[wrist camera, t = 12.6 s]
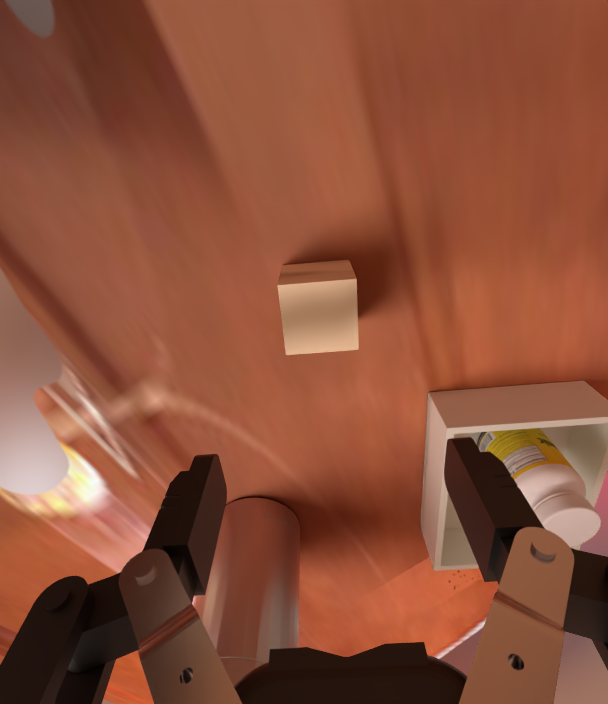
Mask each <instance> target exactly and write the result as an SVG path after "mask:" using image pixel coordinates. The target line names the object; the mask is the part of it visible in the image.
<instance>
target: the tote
mask: <svg viewBox="0 0 608 704" xmlns="http://www.w3.org/2000/svg"><path fill="white" fill-rule="evenodd" d="M532 428H540V429H541V430H542V431H543V433H544V434H545V435H546V436H547V437H548V438H549V440H550V441H551V442H552V443H553V444H554V445H555V446H556V448H557V449H558V450H559V451H560V452H561V454H562V455H563V456H564V457H565V458H566V460H567V461H568V462H569V463H570V464H571V465H572V467H573V468H574V469H575V470H576V471H577V473H578V474H579V475H580V476H581V478H582V479H583V481H584V483H585V487H586V495H585V498H586V500H588V501H589V503H590V504H591V505H592V507H593V508H594V507H595V504H596V501H597V498H598V495H599V492H600V490H601V487H602V484H603V481H604V478H605V475H606V472H607V469H608V400H607V399H606V398H604V397H603V396H602V395H601V394H600V393H598V392H597V391H596V390H595V389H594V388H592V387H591V386H590V385H589V384H587V383H586V382H585V381H584V380H583V381H569V382H556V383H543V384H530V385H517V386H504V387H490V388H477V389H464V390H451V391H438V392H428V408H427V424H426V440H425V456H424V473H423V489H422V505H421V521H420V527H421V530H422V534H423V537H424V540H425V544H426V547H427V550H428V553H429V557H430V560H431V563H432V566H433V570H434V571H436V570H455V569H473V568H479V566H478V564H477V561H476V559H475V557H474V554H473V552H472V549H471V547H470V544H469V542H468V540H467V537H466V535H465V532H464V530H463V528H462V525H461V523H460V520H459V518H458V515H457V513H456V511H455V508H454V506H453V503H452V501H451V498H450V496H449V494H448V491H447V488H446V485H445V480H444V465H445V455H446V445H447V440H448V439H450V438H464V437H471V438H472V439H473V440H474V441H475V440H476V435H477V433H478V432H489V431H504V430H518V429H532ZM580 547H581V544H579V545H577V546H573V547H570V548H573V549H576V550H579V549H580Z"/></svg>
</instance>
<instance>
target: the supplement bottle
mask: <svg viewBox="0 0 608 704" xmlns="http://www.w3.org/2000/svg"><path fill="white" fill-rule="evenodd" d="M475 443H476V445H477V447H478V448H479V450H480V452H488V451H490V452H491V453H492V454H494V455H495V456H496V457H497V458H499V459H500V460H501V461H502V462H503V463H504V465H505V466H506V468H507V469H508V471H509V472H510V474H511V477H513V479H514V480H515V482H516V484H517V487H518V488H520V490H521V492H522V493H523V495H524V496H525V498H526V500H527V501H528V503H529V504H530V506H531V507H532V509H533V511H534V512H535V514H536V515H537V517H538V519H539V520H540V522H541V523H542V525H543V526H544V528H545V529H546V530H549V531H551V532H553V533H554V534H556V535H558V536H559V537H560V538H562V539H563V540H564V541H565V542H566V543H567V544H568V546H569V547H573V546H577V545H579V544H582V543H584V542H586V541H587V540H589V539H591V537H593V536H594V535H595V534H596V533H597V531H598V530H599V528H600V525H601V519H600V516H599V514H598V513H597V512H596V510H595V509H594V508H593V507H592V505H591V504H590V503H589V501H588V500H586V498H585V495H586V487H585V483H584V481H583V479H582V478H581V476H580V475H579V474H578V473H577V471H576V470H575V469H574V468H573V467H572V465H571V464H570V463H569V462H568V461H567V460H566V458H565V457H564V456H563V455H562V454H561V452H560V451H559V450H558V449H557V448H556V446H555V445H554V444H553V443H552V442H551V441H550V440H549V438H548V437H547V436H546V435H545V434H544V433H543V431H542V430H541V429H540V428H532V429H518V430H504V431H489V432H478V433H477V435H476V440H475Z"/></svg>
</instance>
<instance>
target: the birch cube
mask: <svg viewBox="0 0 608 704" xmlns="http://www.w3.org/2000/svg"><path fill="white" fill-rule="evenodd" d="M278 292H279V301H280V309H281V317H282V325H283V334H284V342H285V350H286V355H293V354H307V353H320V352H333V351H347V350H359V348H358V309H357V278H356V276H355V273H354V271H353V268H352V266H351V263H350V261H349V260H338V261H327V262H315V263H303V264H291V265H282V267H281V272H280V277H279V281H278Z"/></svg>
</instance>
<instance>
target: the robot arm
mask: <svg viewBox="0 0 608 704" xmlns="http://www.w3.org/2000/svg"><path fill="white" fill-rule="evenodd" d="M444 480H445V485H446V488H447V491H448V494H449V496H450V498H451V501H452V503H453V506H454V508H455V511H456V513H457V515H458V518H459V520H460V523H461V525H462V528H463V530H464V532H465V535H466V537H467V540H468V542H469V544H470V547H471V549H472V552H473V554H474V557H475V559H476V561H477V564H478V566H479V569H480V571H481V574H482V576H483V578H484V581H485V582H490V581H497V582H498V584H499V587H498V590H497V593H495V595H494V598H493V601H492V604H491V607H490V610H489V613H488V616H487V619H486V622H485V625H484V628H483V631H482V634H481V637H480V641H479V644H478V647H477V650H476V653H475V656H474V659H473V662H472V665H471V668H470V671H469V674H468V677H467V676H466V675H465V674H464V673H462V672H461V671H459V670H458V669H456V668H455V667H454V666H452V665H450V664H448V663H446V662H445V661H442V660H440V659H437V658H435V657H432V656H428V655H427V653H426V649H425V644H424V642H416V643H393V644H384V645H381V646H378V647H375V648H373V649H370V650H367V651H364V652H362V653H359V654H356V655H353V656H350V657H342V656H338V655H334V654H331V653H327V652H323V651H319V650H315V649H311V648H308V647H304V648H298V634H299V569H300V524H299V521H298V519H297V517H296V515H295V514H294V513H293V512H292V511H291V510H290V509H289V508H287V507H286V506H285V505H283V504H281V503H278V502H276V501H273V500H269V499H264V498H245V499H240V500H237V501H234V502H232V503H230V504H228V505H226V500H227V488H226V483H225V479H224V475H223V471H222V467H221V463H220V460H219V456H218V455H217V454H209V455H196V456H195V457H194V459H193V462H192V465H191V467H190V470H189V471H181V472H180V473H179V474H178V475H177V476H176V477H175V478H174V480H173V481H172V482H171V483H170V485H169V488H168V490H167V493H166V495H165V499H164V500H163V502H162V505H161V509H160V510H159V512H158V515H157V517H156V520H155V522H154V525H153V527H152V529H151V532H150V534H149V537H148V539H147V542H146V544H145V547H144V549H143V551H142V552H141V553H139V554H137V555H136V556H134V557H133V558H132V559H130V560H129V562H128V563H127V564H126V565H125V566H124V568H123V570H122V571H121V572H120V573H118V574H116V575H114V576H111V577H108V578H105V579H103V580H100V581H97V582H94V583H92V584H89V585H88V584H87V582H86V581H85V579H83V578H82V577H79V576H69V577H65V578H62V579H60V580H58V581H56V582H55V583H53V584H52V585H50V586H49V587H48V588H47V589H45V590H44V591H43V592H42V593H41V594H40V596H39V597H38V598H37V599H36V601H35V603H34V604H33V606H32V608H31V610H30V612H29V613H28V615H27V617H26V619H25V621H24V623H23V624H22V626H21V628H20V630H19V632H18V634H17V635H16V637H15V639H14V641H13V643H12V645H11V647H10V648H9V650H8V652H7V654H6V656H5V658H4V659H3V661H2V663H1V665H0V704H101V703H102V701H103V698H104V694H105V691H106V688H107V685H108V682H109V679H110V676H111V673H112V670H113V667H114V663H115V660H116V659H117V658H120V657H122V656H124V655H127V654H129V653H132V652H134V651H137V650H138V654H139V657H140V661H141V664H142V667H143V670H144V673H145V676H146V680H147V683H148V686H149V689H150V692H151V695H152V698H153V701H154V704H553V702H554V697H555V691H556V685H557V679H558V672H559V667H560V661H561V655H562V648H563V642H564V636H565V631H566V632H569V633H573V634H577V635H580V636H583V637H587V638H590V639H592V641H593V643H594V645H595V647H596V649H597V650H598V652H599V654H600V656H601V658H602V660H603V662H604V664H605V666H606V668H607V670H608V557H606V556H601V555H597V554H592V553H588V552H583V551H579V550H576V549H573V548H570V547H569V546H568V544H567V543H566V542H565V541H564V540H563V539H562V538H560V537H559V536H558V535H556V534H554V533H553V532H551V531H549V530H546V529H545V528H544V526H543V525H542V523H541V522H540V520H539V519H538V517H537V515H536V514H535V512H534V511H533V509H532V507H531V506H530V504H529V503H528V501H527V500H526V498H525V496H524V495H523V493H522V492H521V490H520V488H518V487H517V484H516V482H515V480H514V479H513V477H511V474H510V472H509V471H508V469H507V468H506V466H505V465H504V463H503V462H502V461H501V460H500V459H499V458H497V457H496V456H495V455H494V454H492V453H491V452H490V451H488V452H480V450H479V448H478V447H477V445H476V443H475V441H474V440H473V439H472V438H471V437H464V438H450V439H448V440H447V445H446V455H445V465H444ZM194 596H196V598H195V602H194V606H193V605H192V601H193V597H194Z"/></svg>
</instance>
